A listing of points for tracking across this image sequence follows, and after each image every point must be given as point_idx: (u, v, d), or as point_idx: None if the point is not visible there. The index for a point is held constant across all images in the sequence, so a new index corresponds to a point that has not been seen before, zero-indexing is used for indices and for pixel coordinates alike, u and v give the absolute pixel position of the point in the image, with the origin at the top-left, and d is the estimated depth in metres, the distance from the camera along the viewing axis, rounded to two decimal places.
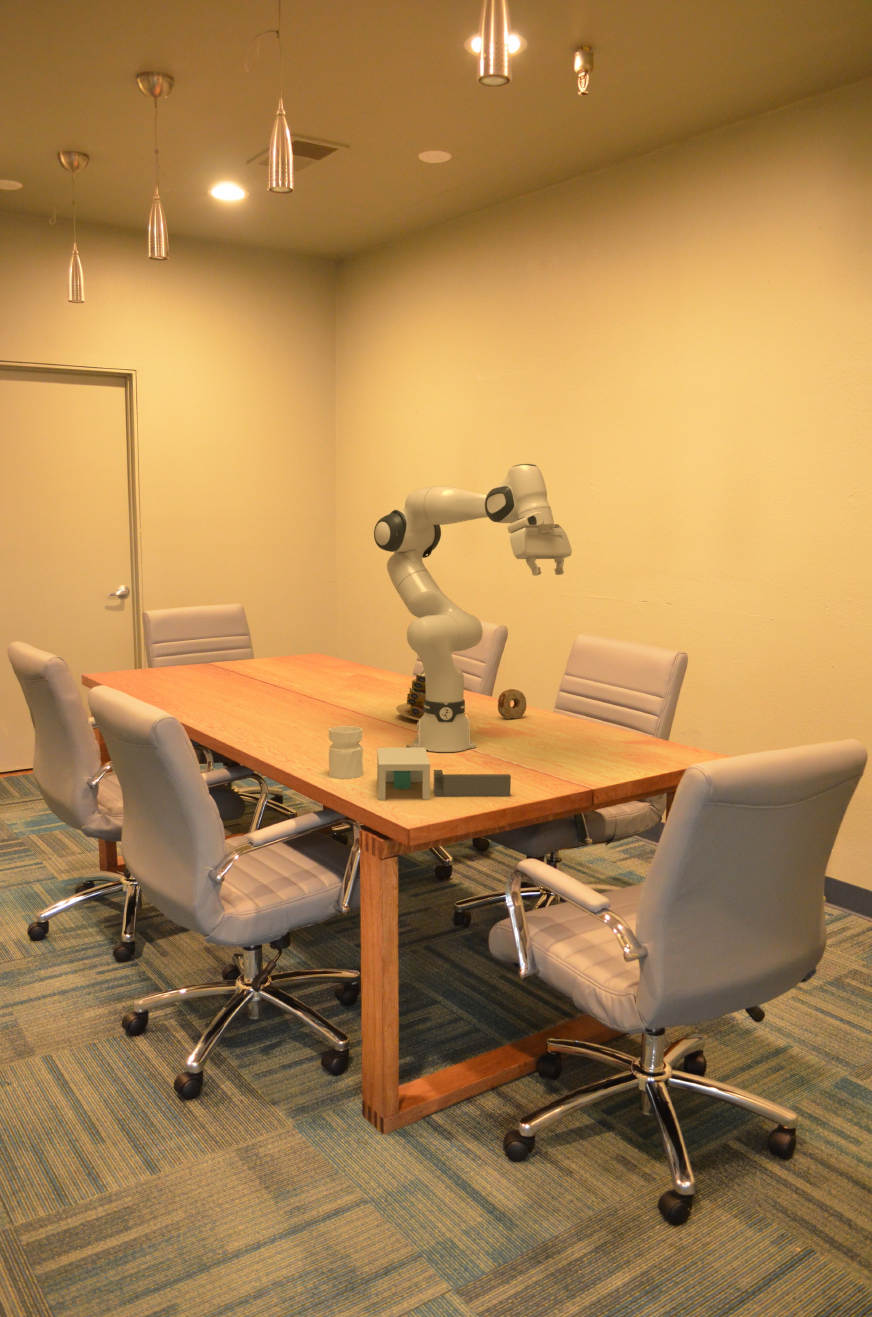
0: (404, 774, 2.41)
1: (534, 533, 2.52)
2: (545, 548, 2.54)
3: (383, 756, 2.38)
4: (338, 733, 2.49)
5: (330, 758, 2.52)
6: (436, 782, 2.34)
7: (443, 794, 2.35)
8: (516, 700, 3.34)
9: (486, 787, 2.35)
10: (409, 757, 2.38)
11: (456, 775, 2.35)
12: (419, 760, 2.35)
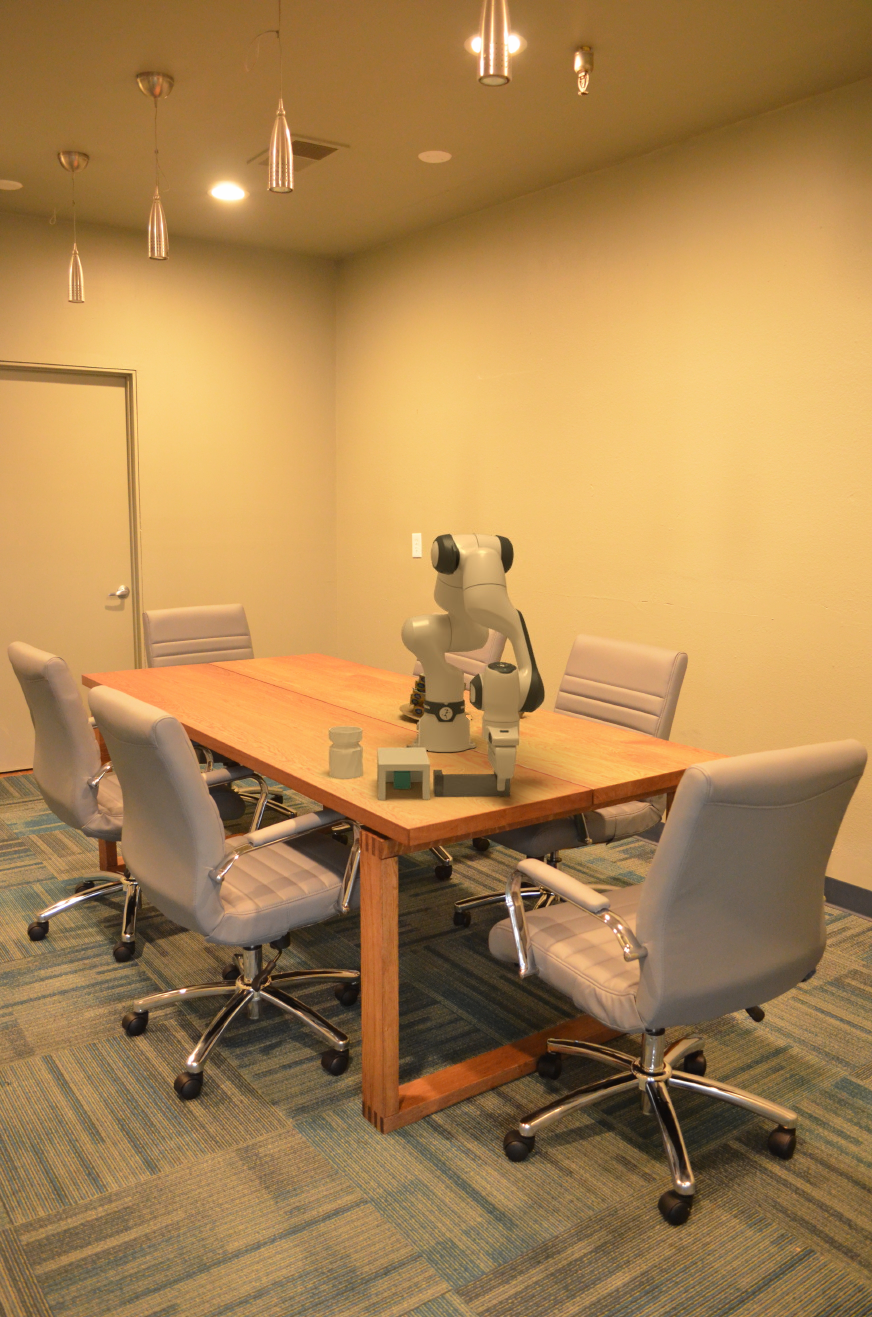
0: (404, 774, 2.41)
1: None
2: None
3: (383, 756, 2.38)
4: (338, 733, 2.49)
5: (330, 758, 2.52)
6: (436, 782, 2.34)
7: (443, 794, 2.35)
8: None
9: (486, 787, 2.35)
10: (409, 757, 2.38)
11: (456, 775, 2.35)
12: (419, 760, 2.35)
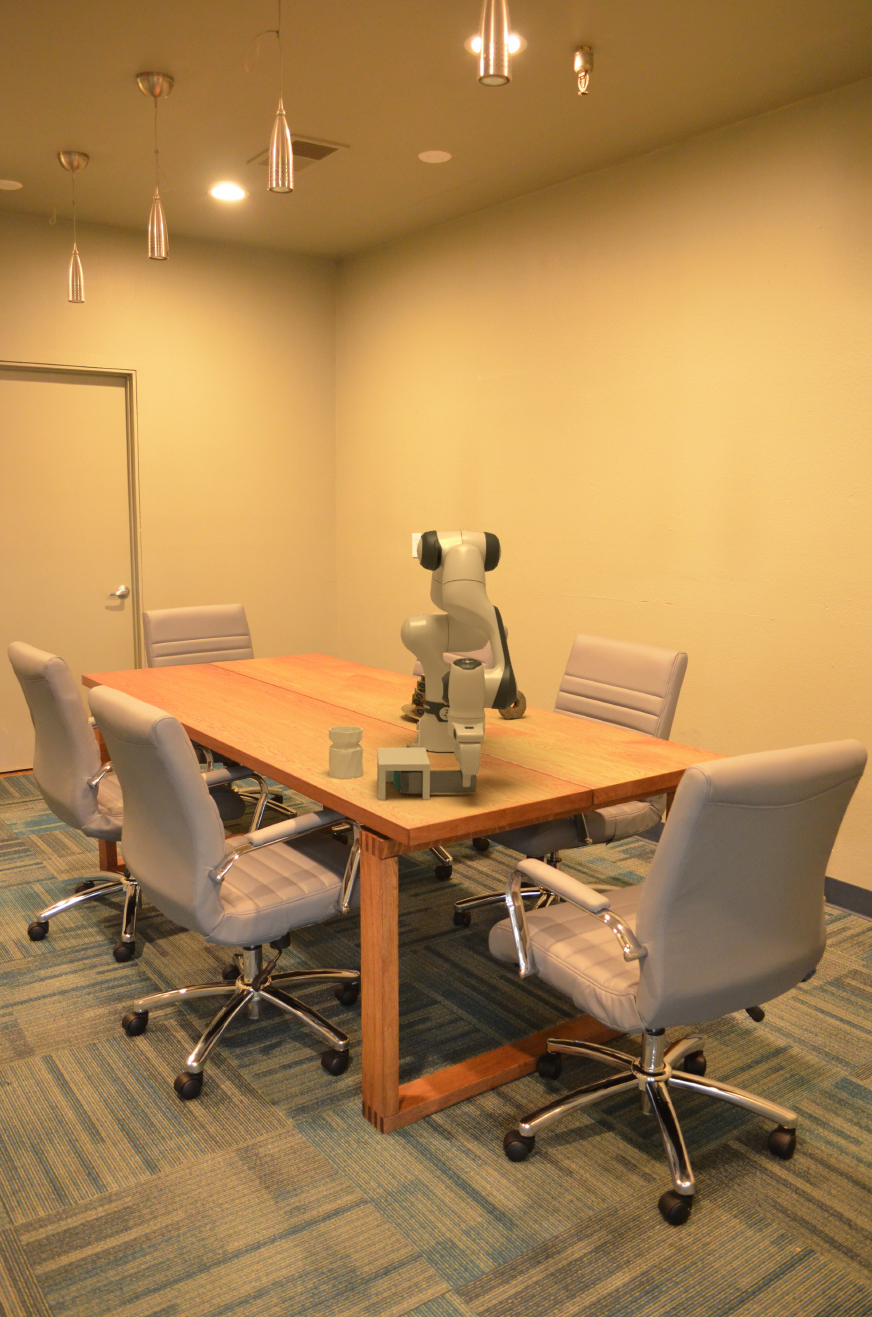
0: None
1: None
2: None
3: (383, 756, 2.38)
4: (338, 733, 2.49)
5: (330, 758, 2.52)
6: (401, 778, 2.33)
7: (408, 790, 2.34)
8: (516, 700, 3.34)
9: (451, 783, 2.35)
10: (409, 757, 2.38)
11: (421, 771, 2.35)
12: (419, 760, 2.35)
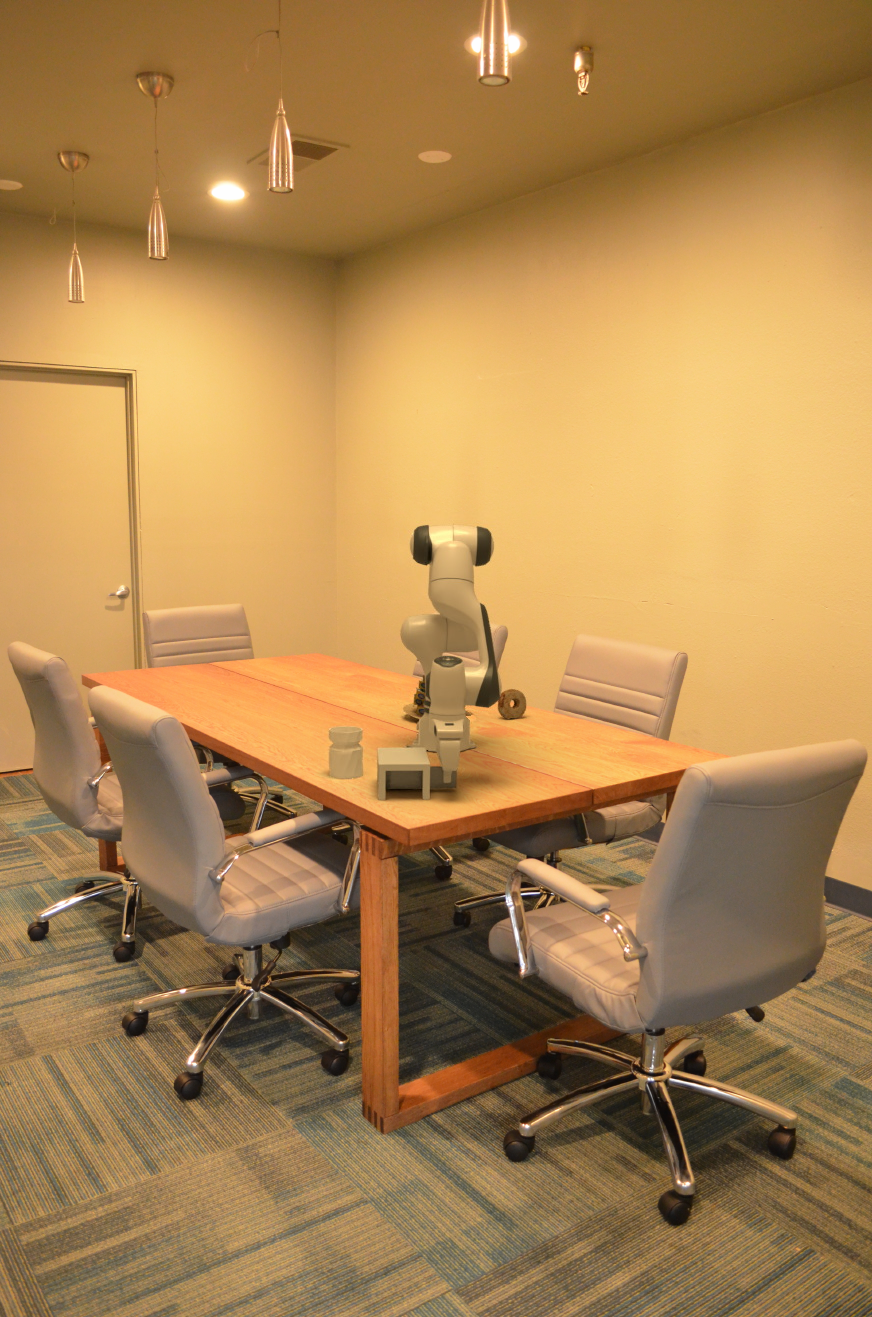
0: None
1: None
2: None
3: (383, 756, 2.38)
4: (338, 733, 2.49)
5: (330, 758, 2.52)
6: None
7: (390, 786, 2.38)
8: (516, 700, 3.34)
9: (433, 779, 2.38)
10: (409, 757, 2.38)
11: None
12: (419, 760, 2.35)
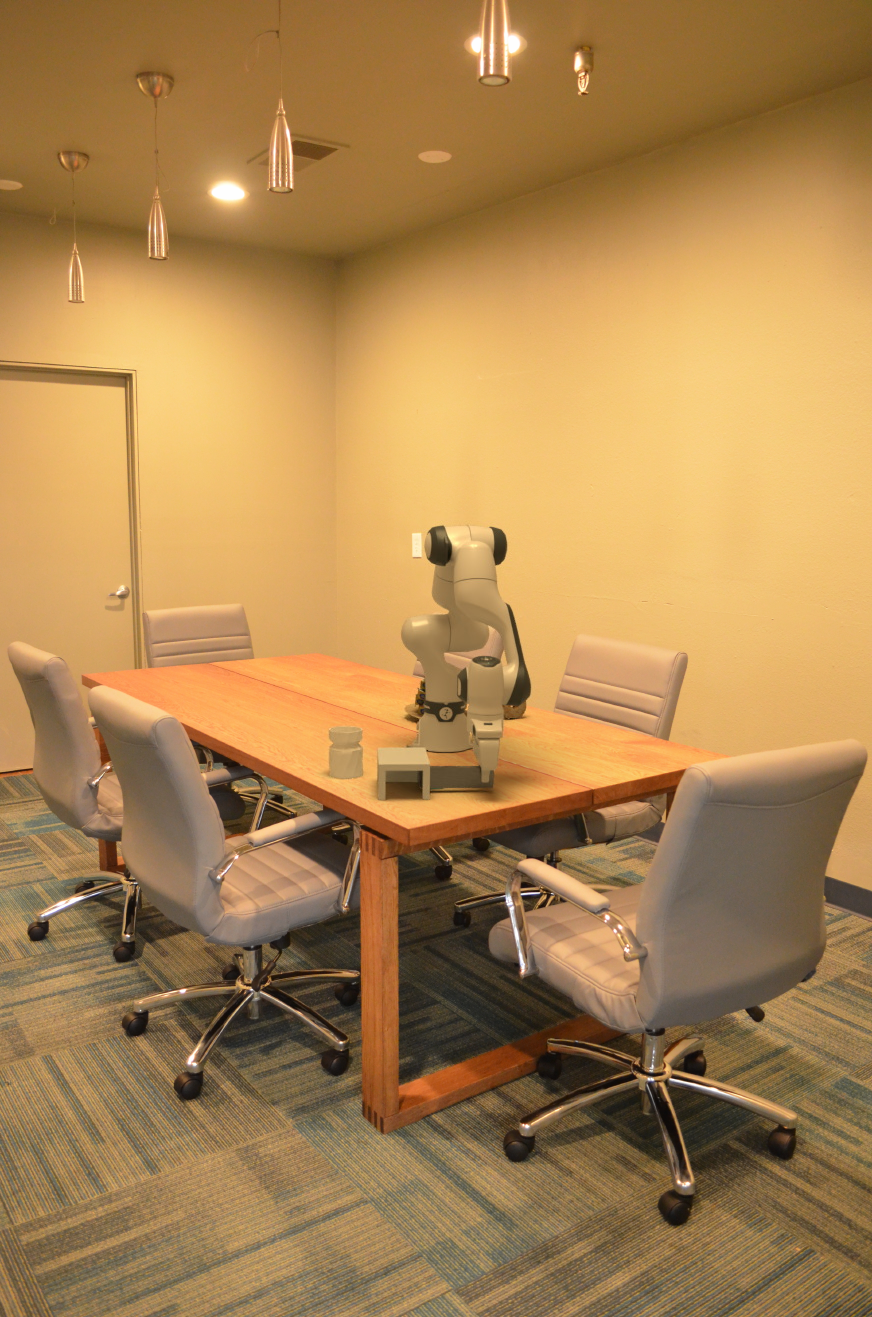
0: None
1: None
2: None
3: (383, 756, 2.38)
4: (338, 733, 2.49)
5: (330, 758, 2.52)
6: (421, 773, 2.37)
7: None
8: None
9: (470, 779, 2.39)
10: (409, 757, 2.38)
11: (440, 767, 2.38)
12: (419, 760, 2.35)
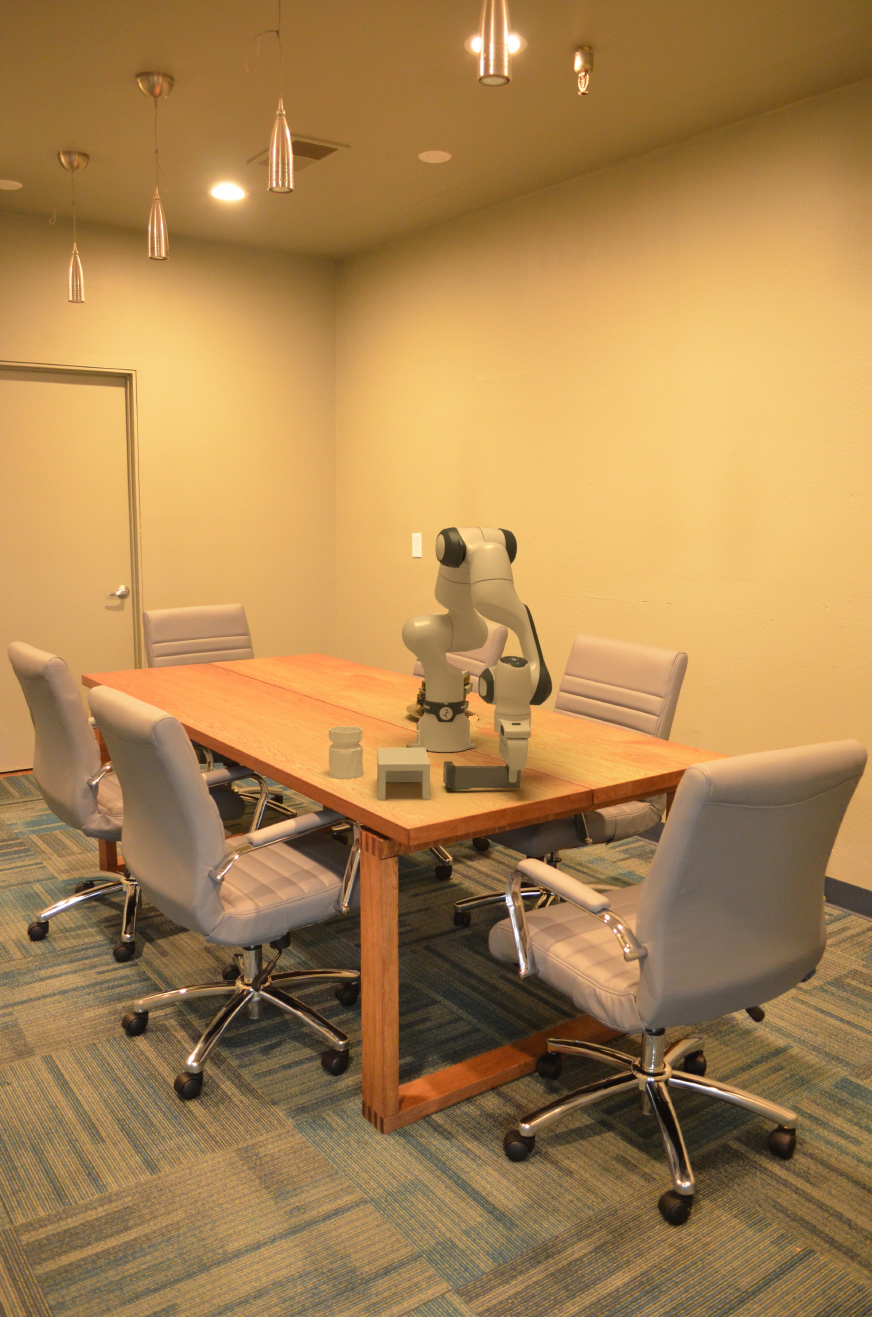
0: None
1: None
2: None
3: (383, 756, 2.38)
4: (338, 733, 2.49)
5: (330, 758, 2.52)
6: (448, 773, 2.37)
7: (455, 785, 2.38)
8: None
9: (497, 779, 2.39)
10: (409, 757, 2.38)
11: (467, 767, 2.39)
12: (419, 760, 2.35)
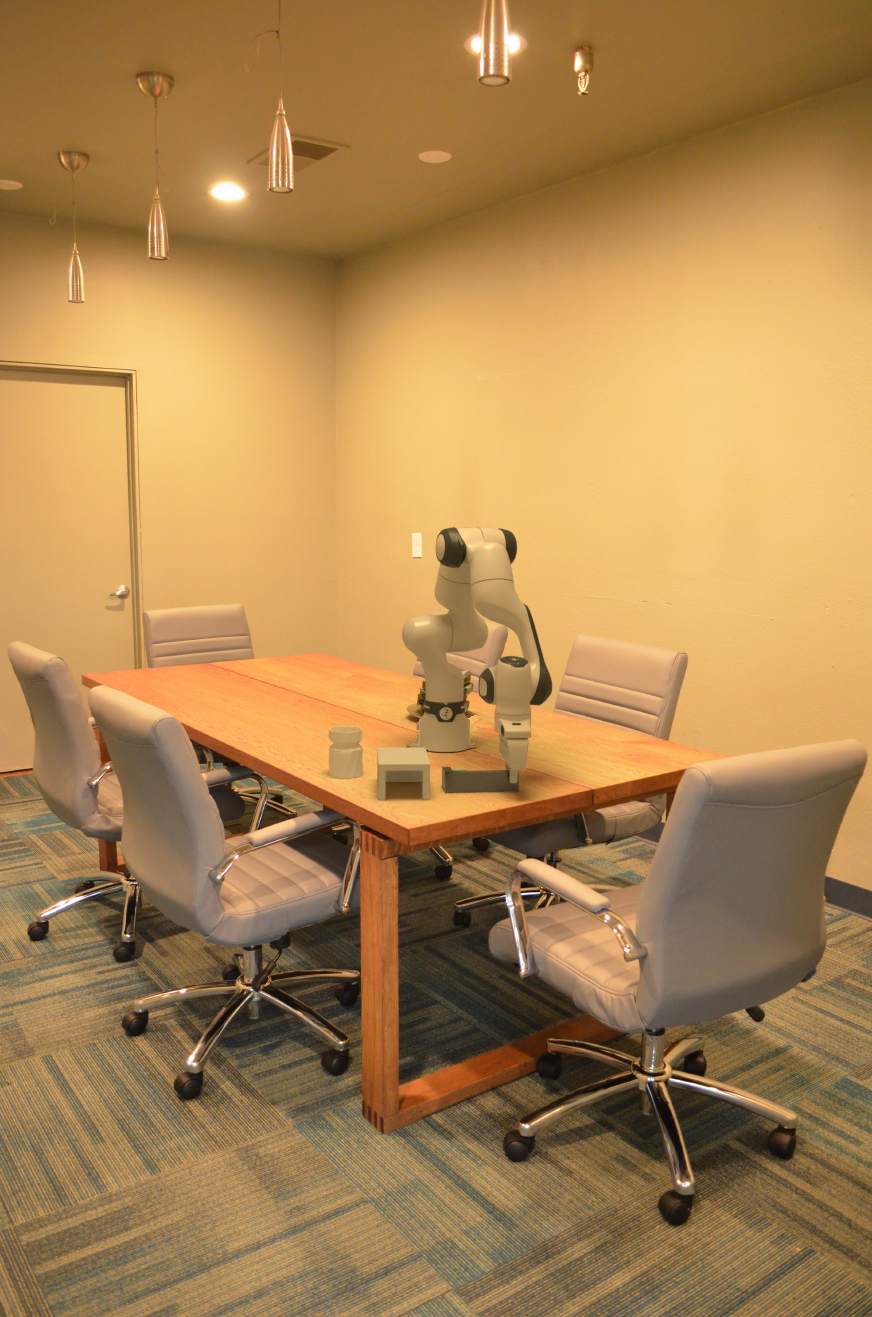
0: None
1: None
2: None
3: (383, 756, 2.38)
4: (338, 733, 2.49)
5: (330, 758, 2.52)
6: (446, 779, 2.38)
7: (453, 790, 2.38)
8: None
9: (495, 783, 2.39)
10: (409, 757, 2.38)
11: (466, 771, 2.39)
12: (419, 760, 2.35)
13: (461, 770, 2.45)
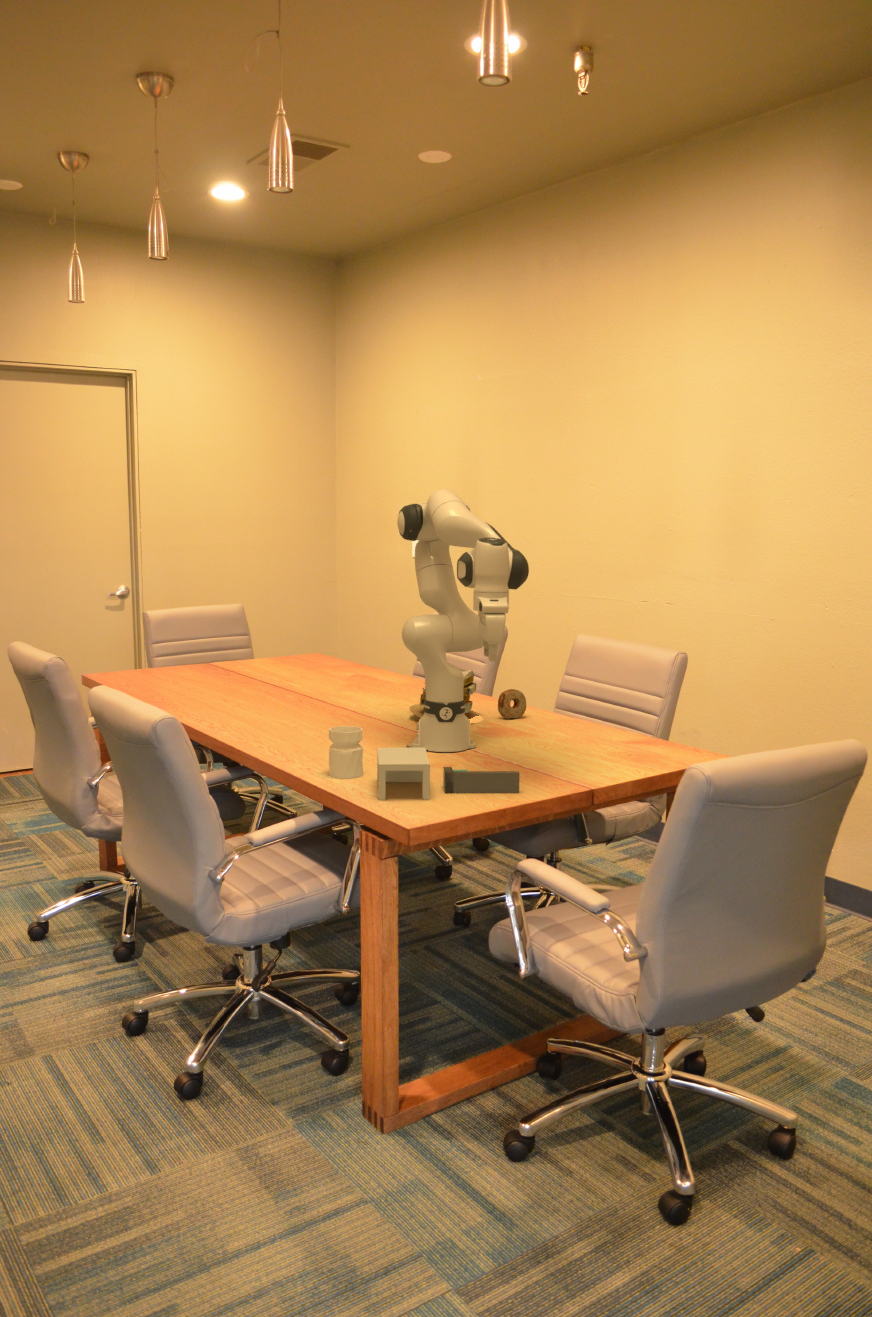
0: None
1: None
2: None
3: (383, 756, 2.38)
4: (338, 733, 2.49)
5: (330, 758, 2.52)
6: (446, 779, 2.37)
7: (453, 791, 2.38)
8: (516, 700, 3.34)
9: (495, 784, 2.38)
10: (409, 757, 2.38)
11: (466, 772, 2.38)
12: (419, 760, 2.35)
13: (461, 770, 2.45)
